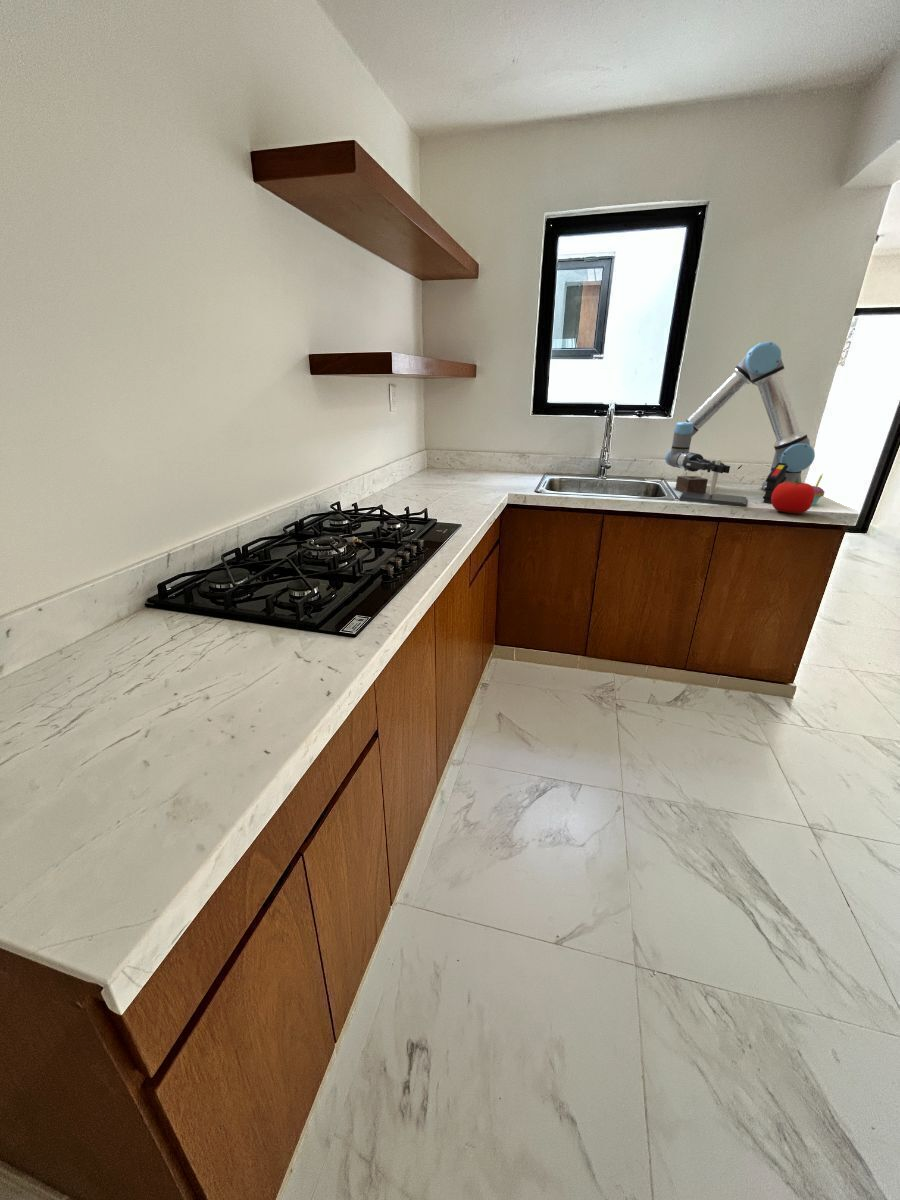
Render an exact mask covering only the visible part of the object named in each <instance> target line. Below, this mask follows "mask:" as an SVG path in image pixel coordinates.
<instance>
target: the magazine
mask: <svg viewBox="0 0 900 1200" xmlns="http://www.w3.org/2000/svg"><path fill="white" fill-rule="evenodd" d="M787 468H788V466H787V463H778V464H777V465H776V466H775V468H774V469H773V470H772V472H771V473H770V472H769V473H770V474H768V475H767V477H768V478H767V477H766V478H767V479H766V478H765V480H766V482H767V487H766V488H765V490H766V491H765V490H764V491H765V494H764V495H763V496H762V499H763V503H765V504H772V502H771V496H772V493H773V491H774V489H775V488H776V487H777V486H778V485H779V484H781V483H783V482H784V481H785V480H786V477H785V474H786V469H787Z"/></svg>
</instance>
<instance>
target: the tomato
mask: <svg viewBox="0 0 900 1200" xmlns="http://www.w3.org/2000/svg"><path fill="white" fill-rule="evenodd" d="M812 486H813V485H811V484H809V483H807V482H801V483H800V482H797V481H795V482H792V481H791V482H783V483H781V484H779V485H778V486H777V487H776V488H775V489H774V491H773V493H772V496H771V502H772V503H771V505H772V507H773V508H774V509H775V510H776V511H778V512H781V513H787V514H804V513H805V512H807V511H808V510H809V509H810V508H811V506H813V505H812V503H813V500H814V489H813V487H812Z"/></svg>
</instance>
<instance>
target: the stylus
mask: <svg viewBox="0 0 900 1200" xmlns="http://www.w3.org/2000/svg"><path fill="white" fill-rule="evenodd" d="M715 461H716V462H715V464H717V465H720V462H722V459H720V458H716V459H715ZM718 477H719V473H718V472H714V471H712V478H711V483H710V487H709V492H708V493H709V494H710V497H712V496H713V495H714V494H715V492H716V487H717V481H718Z"/></svg>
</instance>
